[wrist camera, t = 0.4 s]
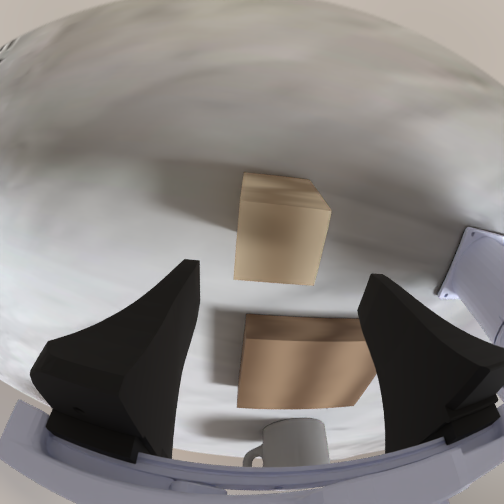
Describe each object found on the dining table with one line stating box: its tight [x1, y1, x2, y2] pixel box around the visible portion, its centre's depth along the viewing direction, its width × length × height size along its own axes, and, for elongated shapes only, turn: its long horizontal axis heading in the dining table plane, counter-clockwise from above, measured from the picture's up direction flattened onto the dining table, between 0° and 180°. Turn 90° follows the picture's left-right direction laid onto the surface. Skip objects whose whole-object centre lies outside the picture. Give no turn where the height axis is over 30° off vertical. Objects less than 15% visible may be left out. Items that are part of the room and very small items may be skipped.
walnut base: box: [237, 314, 377, 409], centre depth 26 cm, size 14×12×3 cm
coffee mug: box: [243, 418, 330, 491], centre depth 33 cm, size 13×10×10 cm
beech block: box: [234, 172, 332, 286], centre depth 17 cm, size 4×4×6 cm
